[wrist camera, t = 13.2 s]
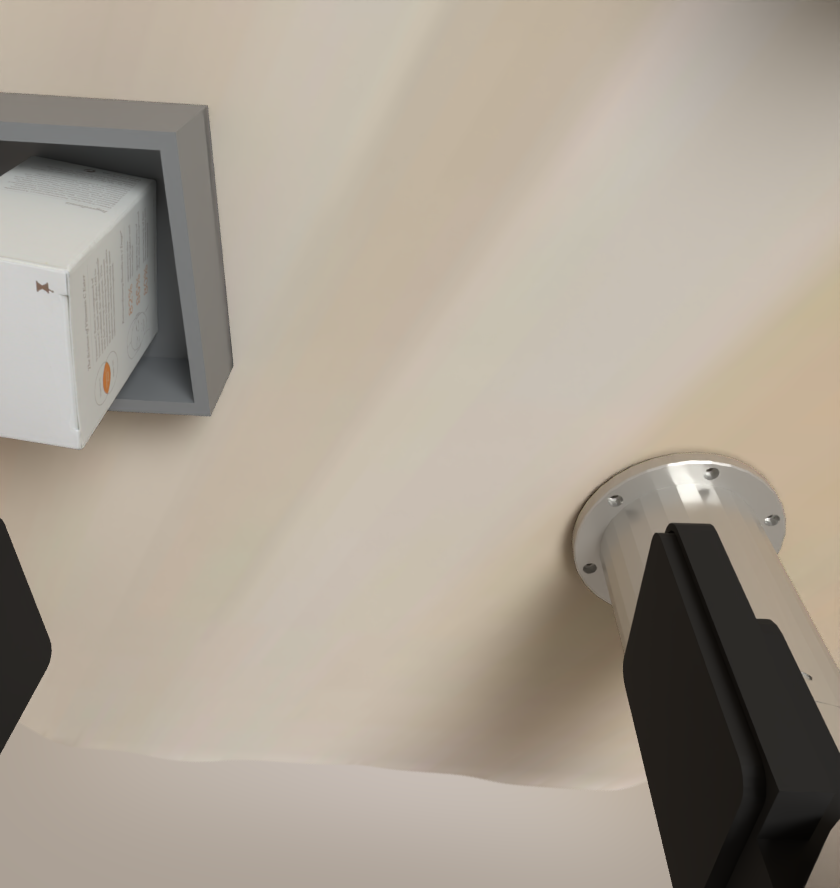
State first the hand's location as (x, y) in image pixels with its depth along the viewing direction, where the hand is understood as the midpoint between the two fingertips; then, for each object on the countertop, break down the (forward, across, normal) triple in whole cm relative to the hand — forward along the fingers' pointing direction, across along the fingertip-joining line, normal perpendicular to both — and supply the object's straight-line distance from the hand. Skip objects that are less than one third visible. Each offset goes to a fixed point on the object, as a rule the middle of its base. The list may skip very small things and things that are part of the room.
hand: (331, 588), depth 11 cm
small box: (+27, +15, +4) cm, 31 cm away
